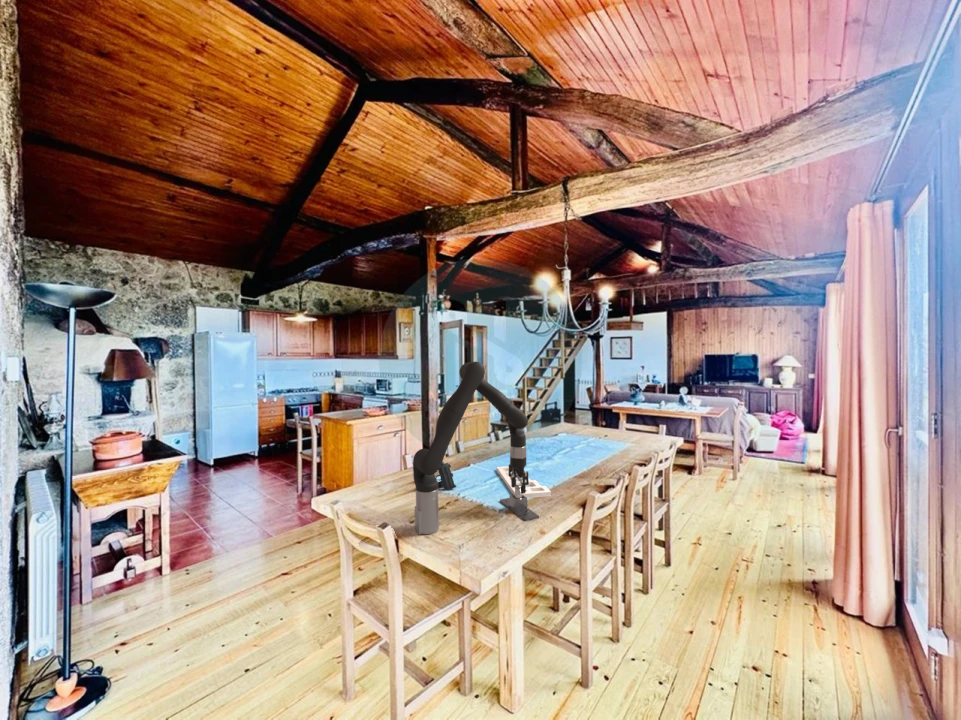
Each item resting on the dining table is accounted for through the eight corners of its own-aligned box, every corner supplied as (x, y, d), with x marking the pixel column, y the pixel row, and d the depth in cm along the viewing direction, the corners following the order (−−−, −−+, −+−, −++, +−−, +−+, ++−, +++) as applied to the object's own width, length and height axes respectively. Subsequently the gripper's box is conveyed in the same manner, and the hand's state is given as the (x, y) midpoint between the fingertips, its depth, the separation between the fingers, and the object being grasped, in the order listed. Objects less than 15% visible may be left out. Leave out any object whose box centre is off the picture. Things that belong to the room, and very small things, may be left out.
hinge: (525, 521, 176) (525, 507, 176) (499, 501, 198) (499, 489, 197) (539, 518, 179) (539, 504, 179) (512, 499, 201) (512, 487, 200)
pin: (517, 511, 186) (517, 487, 186) (513, 508, 189) (513, 485, 189) (523, 510, 188) (523, 486, 187) (519, 507, 190) (519, 484, 190)
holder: (496, 471, 245) (496, 467, 245) (525, 469, 249) (525, 465, 248) (516, 499, 201) (516, 494, 201) (550, 497, 204) (550, 491, 204)
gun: (419, 464, 212) (447, 455, 215) (428, 494, 214) (456, 485, 216) (420, 466, 210) (448, 457, 212) (429, 496, 211) (456, 487, 214)
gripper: (503, 452, 192) (503, 486, 193) (518, 460, 179) (519, 496, 180) (517, 450, 195) (517, 484, 196) (533, 458, 182) (533, 493, 183)
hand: (518, 490), depth 188 cm, fingers open, 8 cm apart
